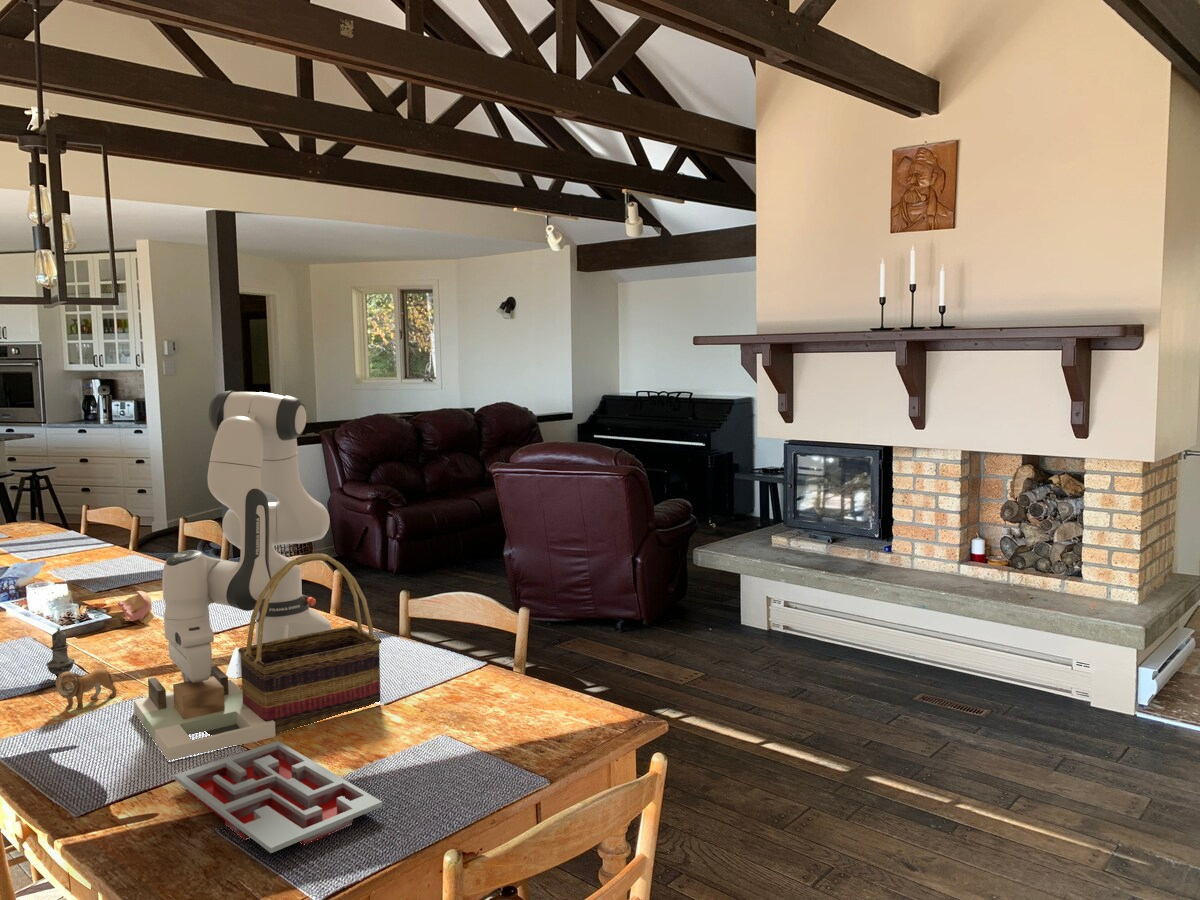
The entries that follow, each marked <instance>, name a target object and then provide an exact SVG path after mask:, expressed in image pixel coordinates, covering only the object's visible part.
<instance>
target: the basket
mask: <svg viewBox="0 0 1200 900" xmlns="http://www.w3.org/2000/svg"><path fill="white" fill-rule="evenodd" d="M314 561H323V562H328V563H331V565H332V566H334V567H336V568H337V570H338V571H339V572H340V573H341V575H342V576H343V577H344V579H345V580H346V582H347V585H348V588H349V589H350V593H351V594H352V596H353V597H352V598H353V602H354V603H353V604H354V605H353V606H354V610H355V617H356V626H355V625H347V626H342V627H336V628H332V629H330V630H325V631H320V632H315V633H310V634H305V635H300V636H295V637H291V638H286V639H281V640H276V641H271V642H266V643H262V637H263V624H264V619H265V615H266V612H267V608H268V604H269V601H270V599H271V597H272V595H273V593H274V591H275V589H276V587H277V585H278V583H279V581H280V580H281V579H282V578H283V577H284V576H285V575H286V574H287V573H288V572H289V571H290V569H291V568H292V567H293V566H294V565H299V566H300V565H302V564H304V563H309V562H314ZM272 584H273V585H272ZM271 586H272V587H271ZM270 587H271V589H270ZM269 589H270V590H269ZM268 590H269V592H268ZM267 592H268V594H267V596H266V598H265V601H264V604H263V608H262V612H261V616H260V619H259V625H258V638H257V645H254V644H253V640H254V639H253V636H254V631H255V627H256V625H255V624H256V616H257V613H258V611H259V608H260V605H261V603H262V600H263V598H264V596H265V595H266V593H267ZM358 596H359V597H358ZM359 598H360V601H361V603H362V604H361V605H362V608H363V612H364V617H365V620H366V625H367V629H368V632H367V631H365V630H363V627H362V617H361V611H360V605H359ZM249 622H250V623H249V626H248V627H249V628H248V635H247V641H246V646H242V647H240V648H238V653H239V654H240V662H241V664H240V666H241V690H242V696H243V704H245V705H246V706H247V707H248V708H249V709H251V710H252V711H253V712H254V713H255V714H257V715H258V716H259V717H260V718H261V719H263V720H264V721H265V722H268V721H272V720H273V721H274V722H275V735H277V733H278V734H281V733H280V732H282V733H285V732H284V731H286V732H288V731H287V730H289V731H291V730H290V729H293V728H297V727H300V726H304V725H308V724H311V723H314V722H317V721H320V720H323V719H326V718H329V717H332V716H335V715H338V714H341V713H344V712H348V711H352V710H355V709H359V708H362V707H366V706H369V705H371V704H374V703H375V702H379V701H380V702H381V667H380V666H381V665H380V664H381V661H380V660H381V659H380V658H381V657H380V656H381V655H380V644H381V643H382V639H380V638H378V637H377V636H375V634H374V629H373V627H374V626H373V623H372V619H371V615H370V610H369V606H368V603H367V598H366V597H365V595H364V593H363V591H362V589H361V587H360V585H359V584H358V582H357V580H356V578H355V577H354V576H353V575H352V574H351V572H349V570H348V569H347V568H346V567H345V566H344V565H343V564H342V563H341V562H339V561H337V560H336V559H335V558H333V557H331V556H330V555H328V554H326V553H318V552H317V553H308V554H304V555H303V554H302V555H301V556H298V557H296V558H295V559H292V561H290V562H288V563H287V564H286V565H285V566H284V567H283V568H282V569H281V570H279V571H278V572H277V573H276V574H275V575H274V576H273V577H272V578H271V579H270V581H269V582H268V584H267V585H266V586H265V588H264V589H263V591H262V592H261V594H260V595H259V597H258V600H257V603H256V605H255V608H254V610H252V613H251V616H250V621H249ZM308 726H309V725H308ZM304 727H305V726H304ZM297 729H298V728H297ZM293 730H294V729H293Z"/></svg>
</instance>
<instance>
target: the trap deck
mask: <svg viewBox="0 0 1200 900" xmlns="http://www.w3.org/2000/svg"><path fill="white" fill-rule="evenodd" d="M228 691H229V695H224V703H225V711H220V712H216V713H211V714H207V715H202V716H198V717H193V718H189V719H184V720H183V718H182V717H181V716H180V714H179V713H178V712H177V710H176V709H175V708H174V692H173V691H170V692H166V708H164V709H160V710H159V709H158V708H157V707H156V706H155V704H154V703H153V702H152V700H151V699H150V698H149V696H147V697H142V698H137V699H133V713H135V714H136V715H135V714H134V715H135V717H136V716H137V717H138V718H139V720H140V721H141V723H142V724H143V726H144V727H145V728H146V730H147V731H148V733H149V734H150V736H151V737H152V739H153V740H154V741H155V743H156V744H157V746H158V747H159V749H160V750H161V751H162V753H163V754H164V755H165V757H166V758H167V760H168V761H169V760H173V759H178V758H181V757H186V756H189V755H194V754H198V753H204V752H208V751H212V750H216V749H220V748H224V747H229V746H233V745H240V746H243V745H242V744H244V745H246V744H247V745H248V744H251V743H256V742H259V741H263V740H267V739H271V738H275V737H276V734H275V722H274V721H273V720H272V721H268V722H265V721H264V720H263V719H261V718H260V717H259V716H258V715H257V714H255V713H254V712H253V711H252V710H251V709H249V708H248V707H247V706H246V705H245V704H243V696H242V688H240V687H239V686H238V685H237V684H236V683H235V682H234V681H232V679H228ZM137 717H136V718H137ZM138 718H137V719H138ZM139 720H138V721H139ZM140 721H139V722H140ZM141 723H140V724H141ZM142 724H141V725H142ZM143 726H142V727H143ZM144 727H143V728H144ZM146 730H145V731H146ZM147 731H146V732H147ZM204 731H206V732H207V733H208V734H210V736H207V737H203V738H199V739H195V740H191V739H190V737H189V736H188V735H189V734H194V733H199V732H204ZM148 733H147V734H148ZM149 734H148V735H149ZM204 734H205V732H204ZM211 735H212V736H211ZM150 736H149V737H150ZM151 737H150V738H151ZM152 739H151V740H152ZM153 740H152V741H153ZM155 743H154V744H155ZM157 746H156V747H157ZM158 747H157V748H158ZM159 749H158V750H159ZM160 750H159V751H160ZM162 753H161V754H162Z"/></svg>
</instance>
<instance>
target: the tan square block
mask: <svg viewBox="0 0 1200 900" xmlns="http://www.w3.org/2000/svg"><path fill="white" fill-rule="evenodd" d="M172 687H173V689H172V690H173V691H172V692H174V708H175V709H176V710H177V712H178V713H179V714H180V716H181V717H182V718H183V720H184V719H189V718H193V717H198V716H202V715H207V714H211V713H216V712H220V711H225V703H224V687H223V686H222V685H221V684H220V683H219V682H218V681H217V679H216V678H215V677H214V676H212V677H210V678H209V679H208V680H205V681H200V682H192V681H187V682H184V681H182V682H178V683H173V684H172Z"/></svg>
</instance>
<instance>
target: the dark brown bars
mask: <svg viewBox="0 0 1200 900" xmlns="http://www.w3.org/2000/svg"><path fill="white" fill-rule="evenodd" d="M212 676H214V677H215V678H216V679H217V681H218V682H219V683H220V684H221V685H222V686H223V687H224V695H229V691H228V680H229V676H228V675H227V674H226V673H224V671H222V670H221V669H220V668H219V667H218V666H217V665H211V675H210V677H212ZM147 684H148V697H149V698H150V699H151V700H152V702H153V703H154V704H155V706H156V707H157V708H158V709H159V710H160V709H164V708H166V693H167V690H166V688H165V687H164V686H163V685H162V683H161V682H160V680H158V678H157V677H151V678H148V679H147Z"/></svg>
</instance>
